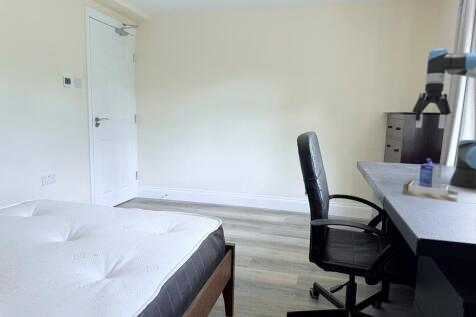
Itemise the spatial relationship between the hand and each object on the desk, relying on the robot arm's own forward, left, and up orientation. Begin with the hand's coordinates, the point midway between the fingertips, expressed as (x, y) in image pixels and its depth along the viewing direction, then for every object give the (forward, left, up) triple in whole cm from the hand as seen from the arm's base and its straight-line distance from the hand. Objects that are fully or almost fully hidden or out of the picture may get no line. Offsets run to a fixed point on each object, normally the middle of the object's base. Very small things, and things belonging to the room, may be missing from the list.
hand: (430, 128), depth 157 cm
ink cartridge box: (+12, +15, -28) cm, 34 cm away
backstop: (+12, +16, -29) cm, 35 cm away
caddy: (+12, +15, -29) cm, 35 cm away
